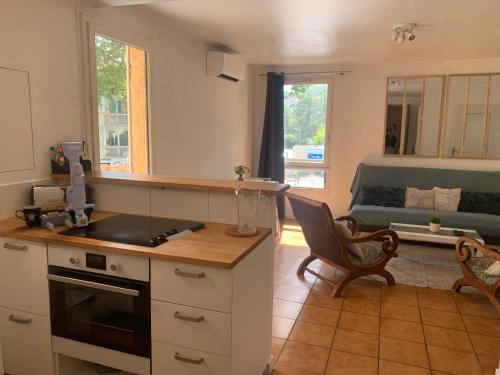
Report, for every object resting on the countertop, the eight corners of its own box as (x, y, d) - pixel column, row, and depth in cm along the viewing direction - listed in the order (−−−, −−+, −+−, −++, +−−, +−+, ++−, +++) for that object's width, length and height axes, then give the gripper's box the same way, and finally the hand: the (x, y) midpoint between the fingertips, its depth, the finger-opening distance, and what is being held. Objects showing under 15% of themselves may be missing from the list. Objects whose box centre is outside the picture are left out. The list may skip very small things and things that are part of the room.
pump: (74, 225, 205) (74, 214, 204) (84, 223, 208) (83, 213, 207) (78, 227, 201) (77, 216, 200) (88, 225, 204) (87, 214, 203)
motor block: (39, 225, 203) (38, 214, 202) (66, 221, 213) (66, 210, 212) (42, 227, 199) (41, 216, 198) (70, 223, 208) (69, 212, 207)
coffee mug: (46, 223, 208) (44, 205, 206) (35, 227, 199) (34, 208, 198) (26, 222, 209) (24, 205, 208) (15, 226, 201) (13, 208, 199)
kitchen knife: (172, 240, 175) (164, 236, 177) (171, 245, 176) (163, 240, 178) (209, 225, 200) (201, 221, 203) (208, 229, 201) (201, 225, 203)
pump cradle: (45, 227, 200) (44, 222, 200) (67, 223, 207) (67, 219, 207) (50, 230, 193) (49, 225, 193) (73, 226, 201) (73, 222, 201)
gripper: (67, 200, 195) (69, 226, 197) (96, 197, 204) (97, 221, 206) (63, 198, 200) (65, 223, 202) (91, 195, 209) (92, 219, 211)
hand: (81, 222), depth 204 cm, fingers open, 6 cm apart
